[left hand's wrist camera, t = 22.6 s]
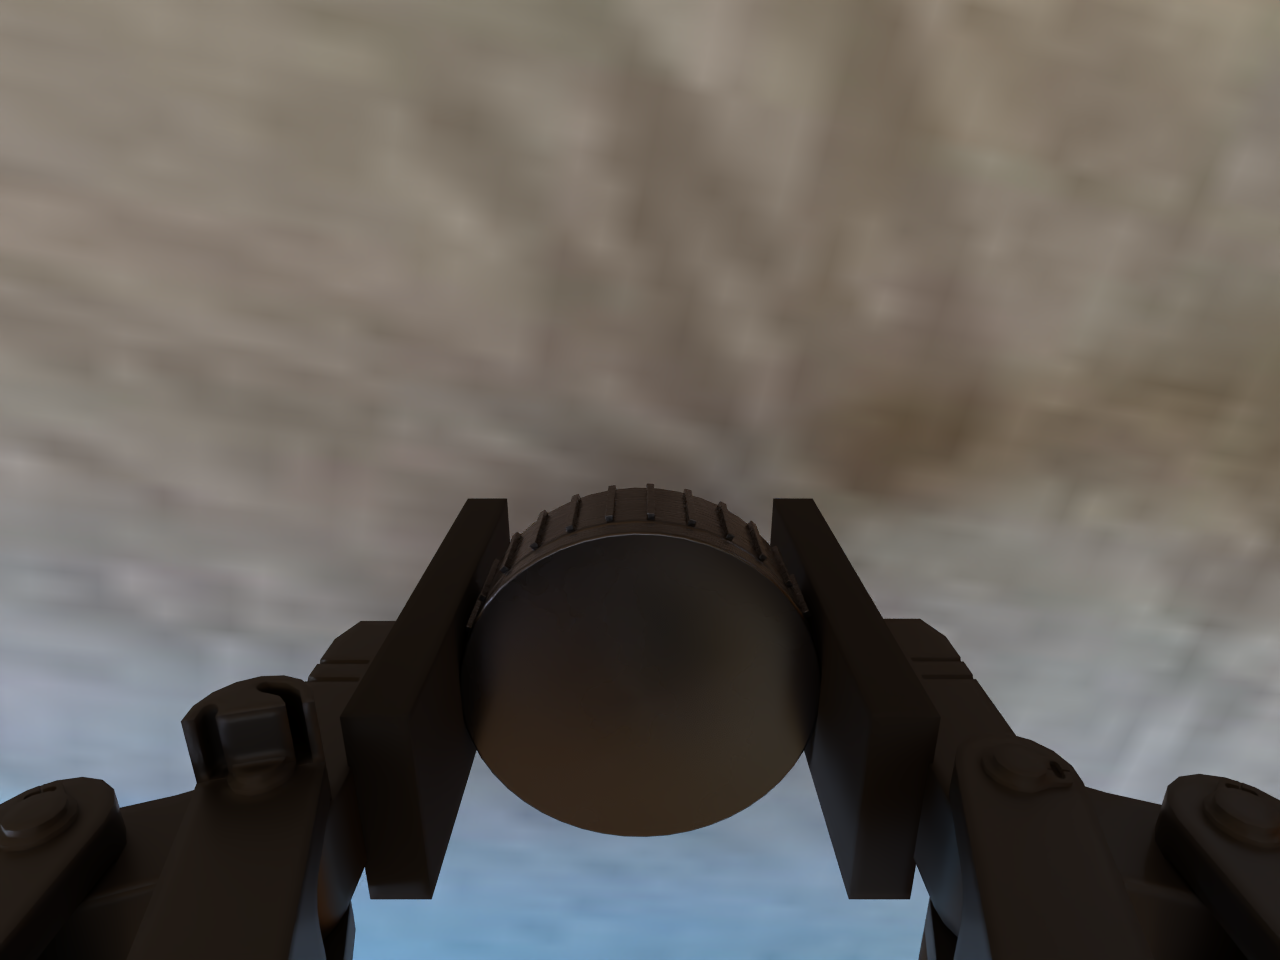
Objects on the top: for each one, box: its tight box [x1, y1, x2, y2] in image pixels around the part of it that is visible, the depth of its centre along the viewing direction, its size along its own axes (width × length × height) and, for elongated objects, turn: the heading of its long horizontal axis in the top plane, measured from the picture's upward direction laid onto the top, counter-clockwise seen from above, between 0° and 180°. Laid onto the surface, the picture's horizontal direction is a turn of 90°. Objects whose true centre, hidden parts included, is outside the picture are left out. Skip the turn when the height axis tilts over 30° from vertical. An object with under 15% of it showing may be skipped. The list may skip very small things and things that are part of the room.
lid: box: [459, 484, 821, 837], centre depth 11 cm, size 5×5×2 cm
